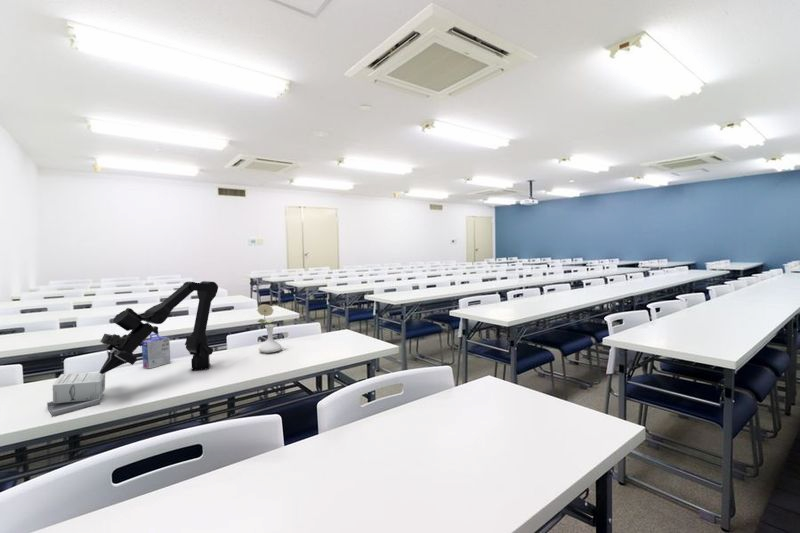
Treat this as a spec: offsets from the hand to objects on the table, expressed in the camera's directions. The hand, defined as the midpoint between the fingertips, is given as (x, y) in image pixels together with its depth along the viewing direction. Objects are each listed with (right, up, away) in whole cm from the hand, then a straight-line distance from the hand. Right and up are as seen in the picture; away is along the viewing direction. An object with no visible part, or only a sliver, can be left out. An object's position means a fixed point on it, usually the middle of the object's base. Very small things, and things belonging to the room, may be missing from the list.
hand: (100, 373), depth 127 cm
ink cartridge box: (-5, -7, +36) cm, 38 cm away
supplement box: (0, -5, +1) cm, 5 cm away
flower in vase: (+39, -6, +58) cm, 70 cm away
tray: (-5, -10, -5) cm, 12 cm away
